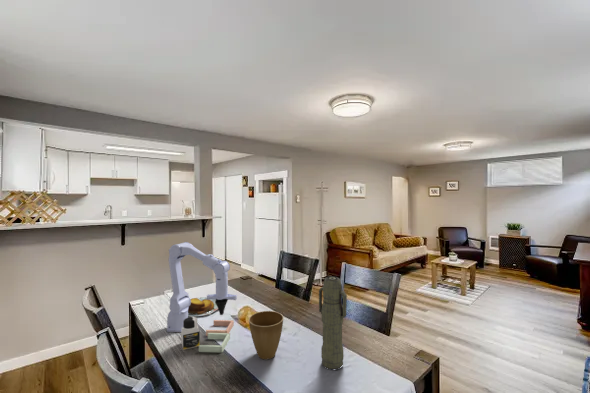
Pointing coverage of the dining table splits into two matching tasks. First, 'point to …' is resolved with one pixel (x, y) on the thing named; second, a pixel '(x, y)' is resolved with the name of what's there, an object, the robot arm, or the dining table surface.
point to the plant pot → (266, 332)
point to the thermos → (332, 321)
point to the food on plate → (202, 306)
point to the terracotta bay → (222, 323)
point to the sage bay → (215, 347)
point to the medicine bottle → (190, 333)
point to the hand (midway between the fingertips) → (221, 314)
